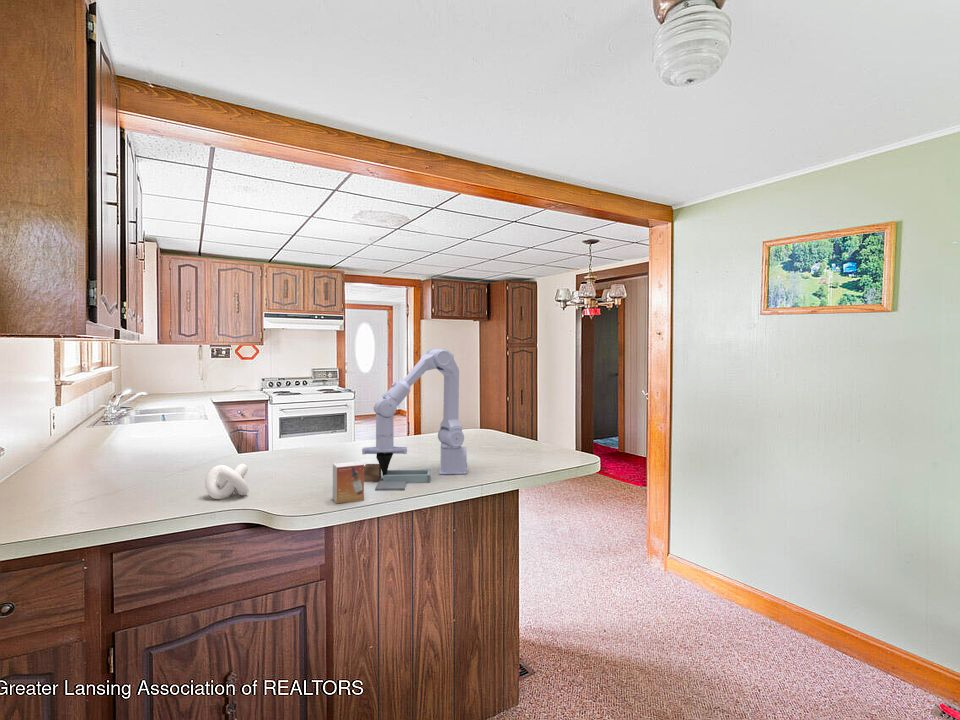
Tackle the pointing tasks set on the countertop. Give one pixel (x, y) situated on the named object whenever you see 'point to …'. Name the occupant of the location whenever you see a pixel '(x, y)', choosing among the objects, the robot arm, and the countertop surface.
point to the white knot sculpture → (226, 481)
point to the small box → (348, 482)
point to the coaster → (391, 485)
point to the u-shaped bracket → (408, 476)
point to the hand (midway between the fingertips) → (384, 475)
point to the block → (372, 473)
